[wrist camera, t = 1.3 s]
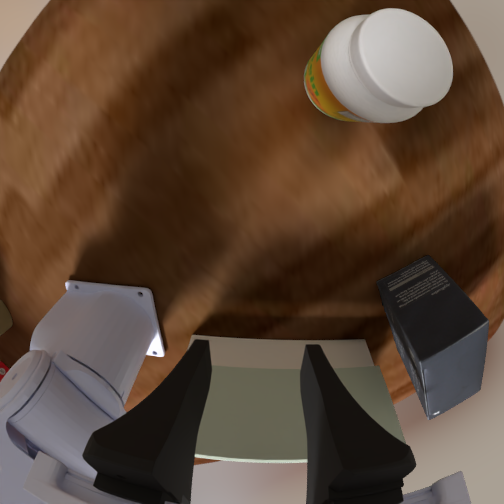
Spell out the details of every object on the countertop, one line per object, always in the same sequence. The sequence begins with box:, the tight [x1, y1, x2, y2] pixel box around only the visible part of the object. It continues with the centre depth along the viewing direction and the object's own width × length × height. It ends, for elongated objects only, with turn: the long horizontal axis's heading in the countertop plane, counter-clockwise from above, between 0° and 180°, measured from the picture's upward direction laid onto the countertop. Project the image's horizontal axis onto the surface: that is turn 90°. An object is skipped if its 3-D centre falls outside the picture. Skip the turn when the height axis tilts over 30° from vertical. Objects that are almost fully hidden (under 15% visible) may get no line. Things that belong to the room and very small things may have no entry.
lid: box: [195, 365, 406, 463], centre depth 17 cm, size 16×8×1 cm
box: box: [376, 255, 489, 420], centre depth 18 cm, size 9×6×10 cm, turn 30°
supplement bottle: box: [304, 8, 453, 123], centre depth 11 cm, size 5×5×10 cm
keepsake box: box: [187, 335, 374, 369], centre depth 25 cm, size 16×8×4 cm, turn 89°
